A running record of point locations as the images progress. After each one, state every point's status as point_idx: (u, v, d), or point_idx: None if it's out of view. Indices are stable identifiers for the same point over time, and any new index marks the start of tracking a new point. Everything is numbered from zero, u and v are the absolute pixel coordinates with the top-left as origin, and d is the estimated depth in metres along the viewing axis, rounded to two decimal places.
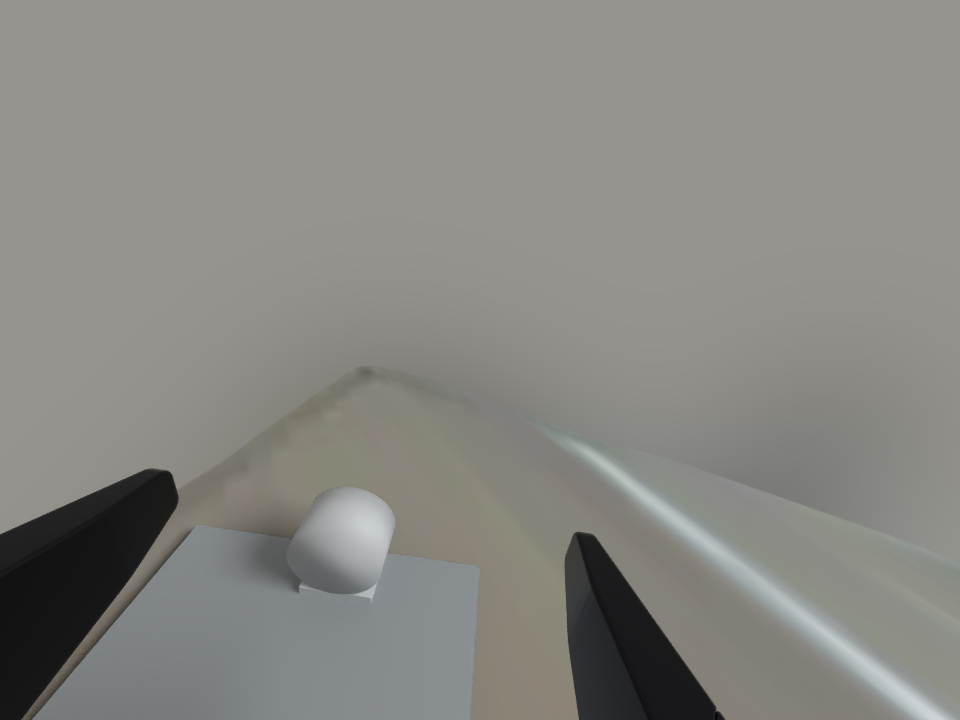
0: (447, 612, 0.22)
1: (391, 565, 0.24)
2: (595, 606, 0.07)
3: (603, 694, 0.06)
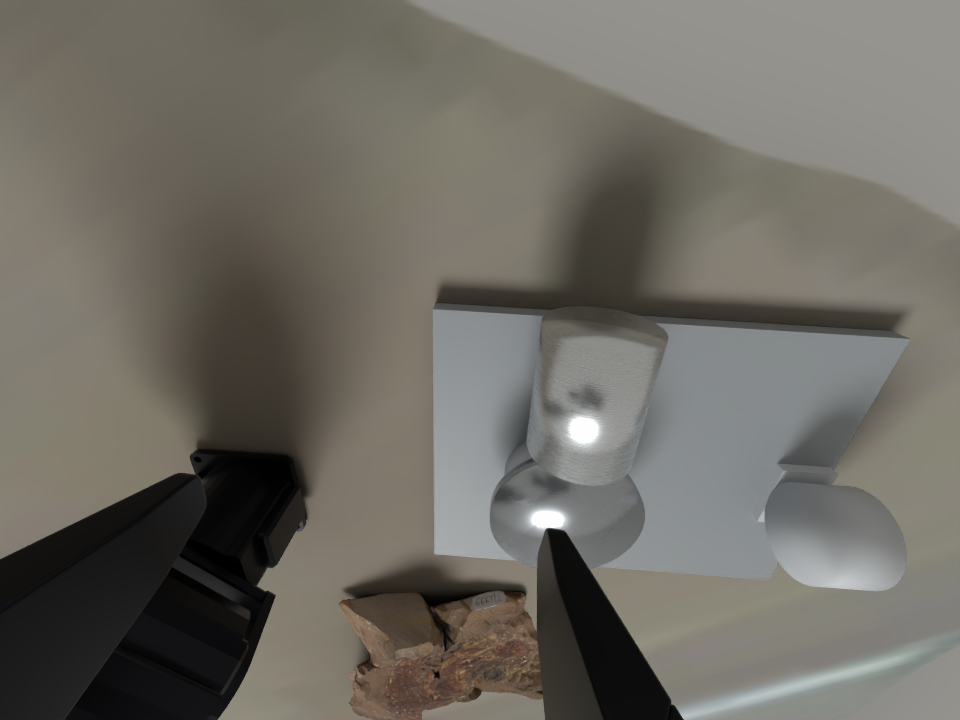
0: (731, 560, 0.26)
1: None
2: (560, 601, 0.07)
3: (564, 688, 0.06)
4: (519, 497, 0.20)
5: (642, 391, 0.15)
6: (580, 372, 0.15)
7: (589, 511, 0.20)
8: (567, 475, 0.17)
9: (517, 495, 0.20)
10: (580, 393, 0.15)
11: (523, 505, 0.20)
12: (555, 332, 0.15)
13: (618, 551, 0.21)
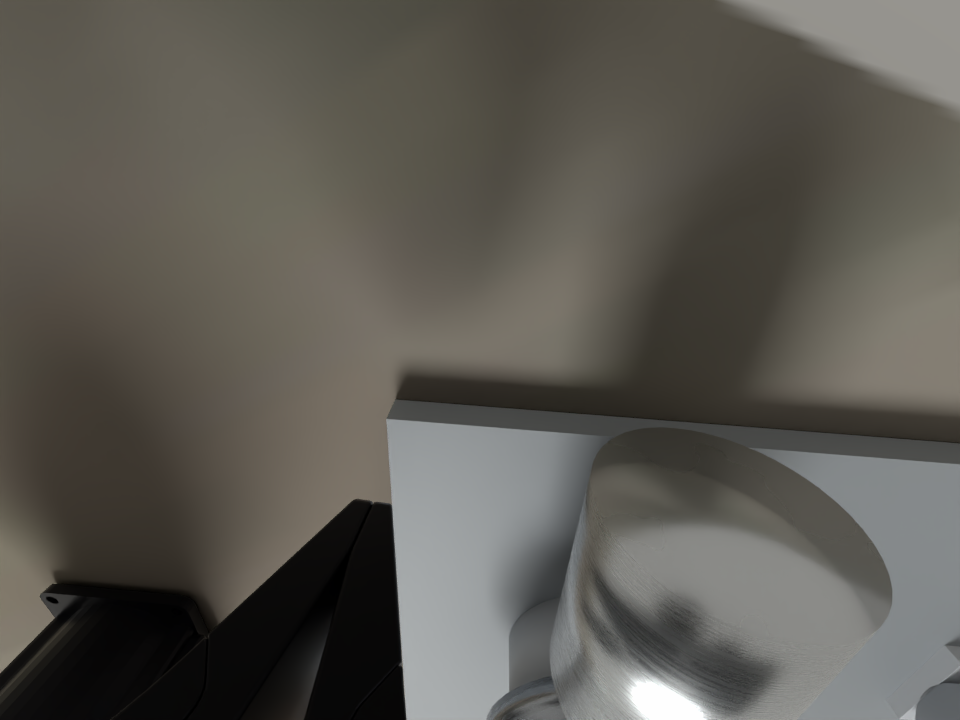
0: None
1: None
2: None
3: None
4: None
5: (828, 684, 0.07)
6: (693, 655, 0.06)
7: None
8: None
9: None
10: (689, 688, 0.07)
11: None
12: (629, 540, 0.07)
13: None
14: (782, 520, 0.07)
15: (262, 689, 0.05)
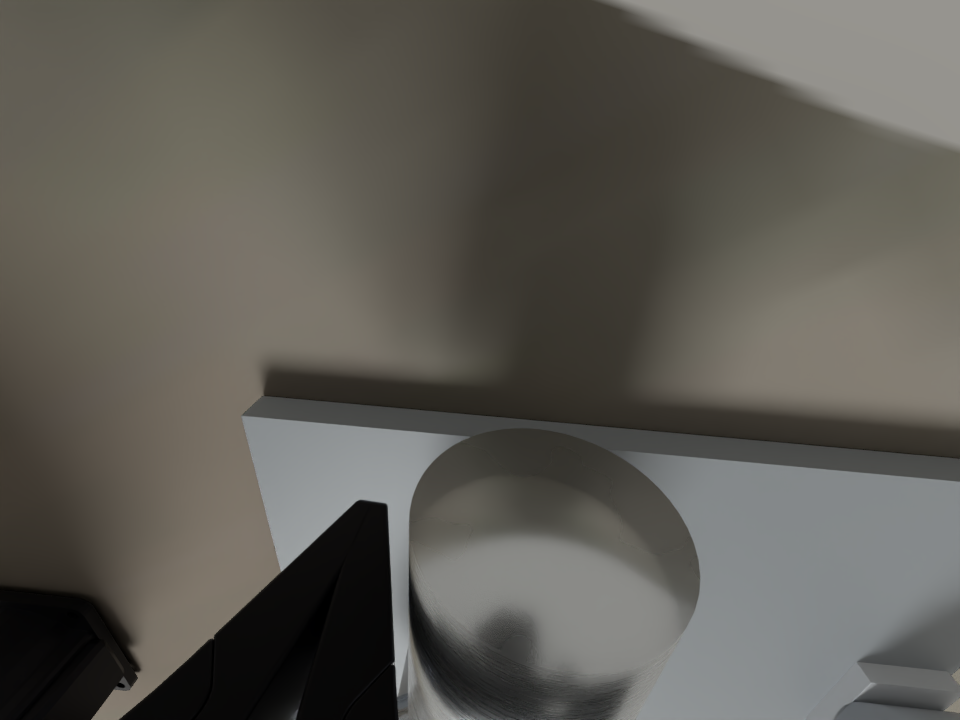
0: None
1: None
2: None
3: None
4: None
5: (631, 714, 0.06)
6: (470, 678, 0.06)
7: None
8: None
9: None
10: (476, 714, 0.06)
11: None
12: (425, 549, 0.06)
13: None
14: (609, 531, 0.07)
15: (269, 690, 0.05)
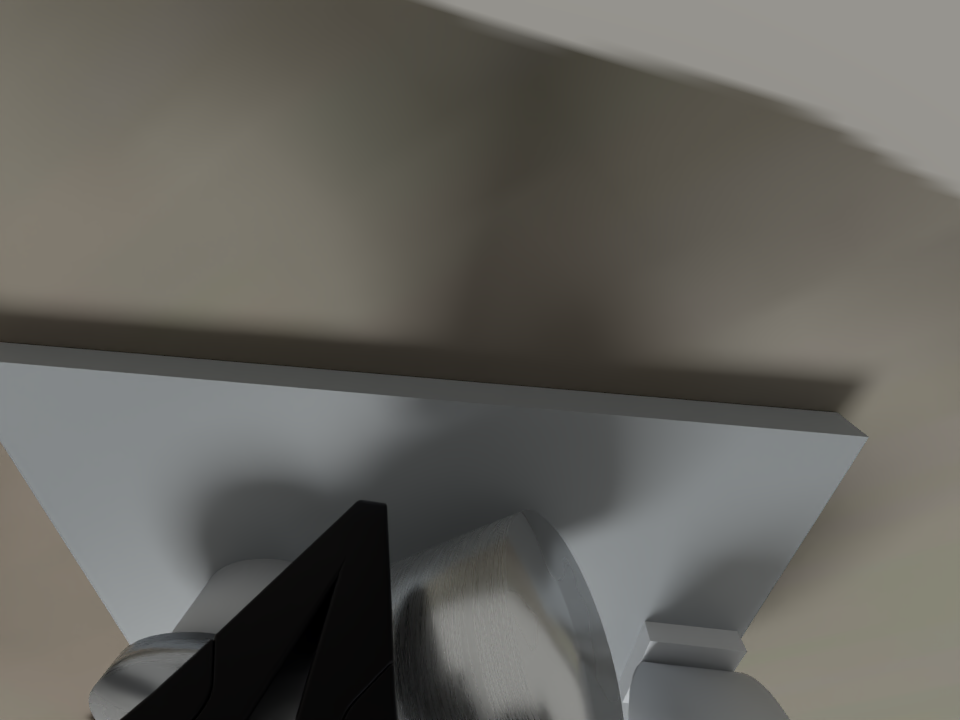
0: None
1: None
2: None
3: None
4: None
5: None
6: None
7: None
8: None
9: None
10: None
11: None
12: (518, 627, 0.07)
13: None
14: (591, 665, 0.09)
15: (269, 690, 0.05)
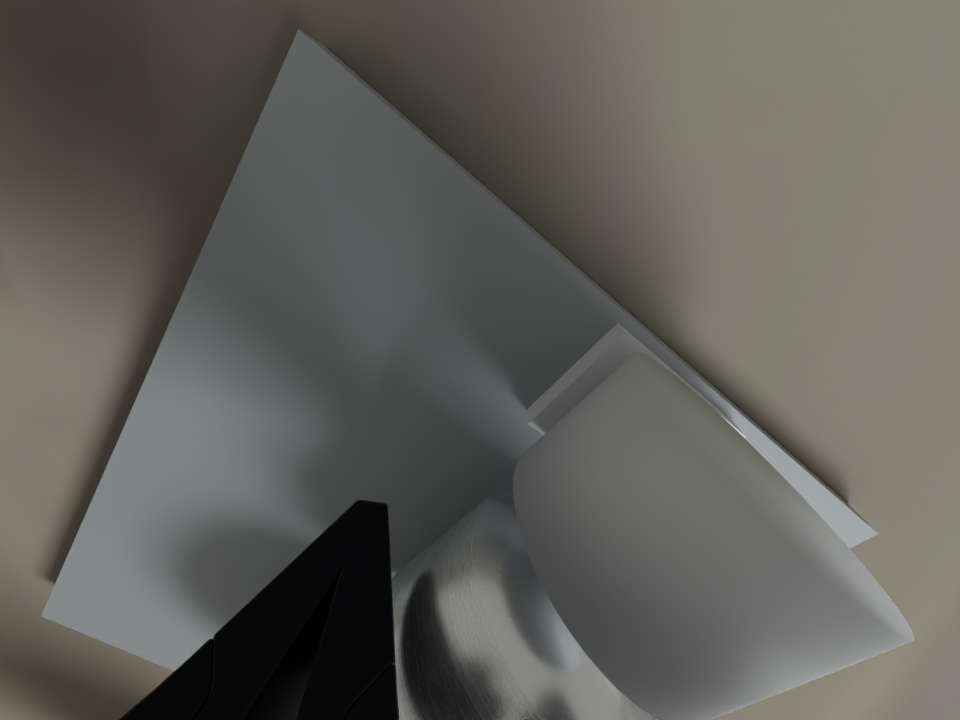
0: None
1: None
2: None
3: None
4: None
5: None
6: None
7: None
8: None
9: None
10: None
11: None
12: (488, 597, 0.07)
13: None
14: None
15: (268, 690, 0.05)
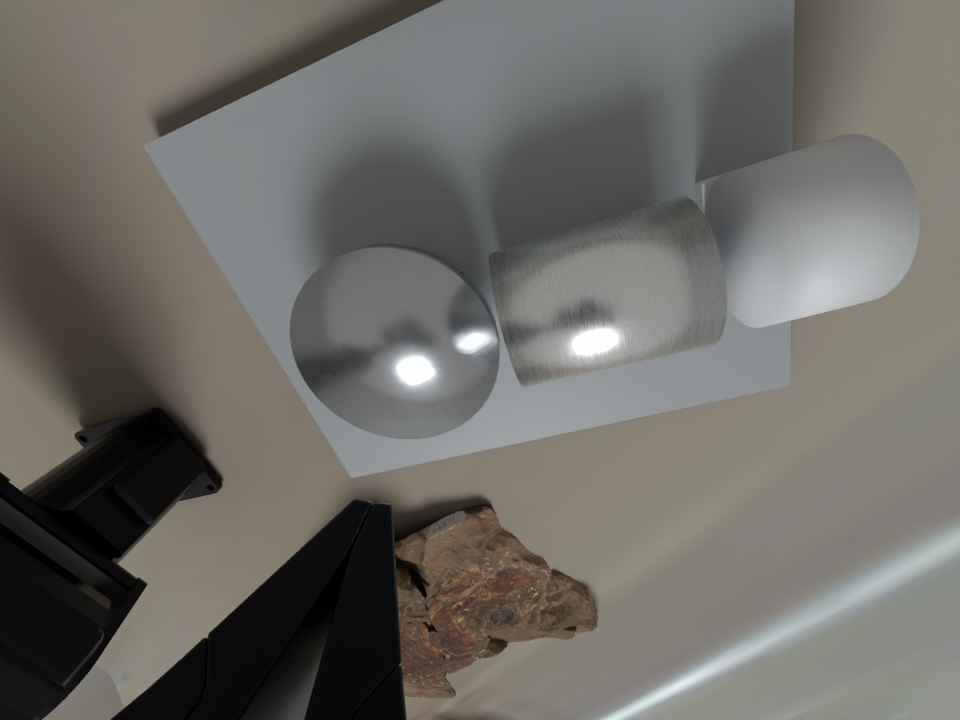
0: (715, 371, 0.18)
1: None
2: None
3: None
4: (403, 280, 0.13)
5: (660, 348, 0.12)
6: (679, 266, 0.11)
7: (425, 374, 0.15)
8: (509, 319, 0.12)
9: (405, 276, 0.13)
10: (648, 280, 0.11)
11: (391, 292, 0.14)
12: (699, 215, 0.11)
13: (380, 429, 0.17)
14: None
15: (262, 689, 0.05)
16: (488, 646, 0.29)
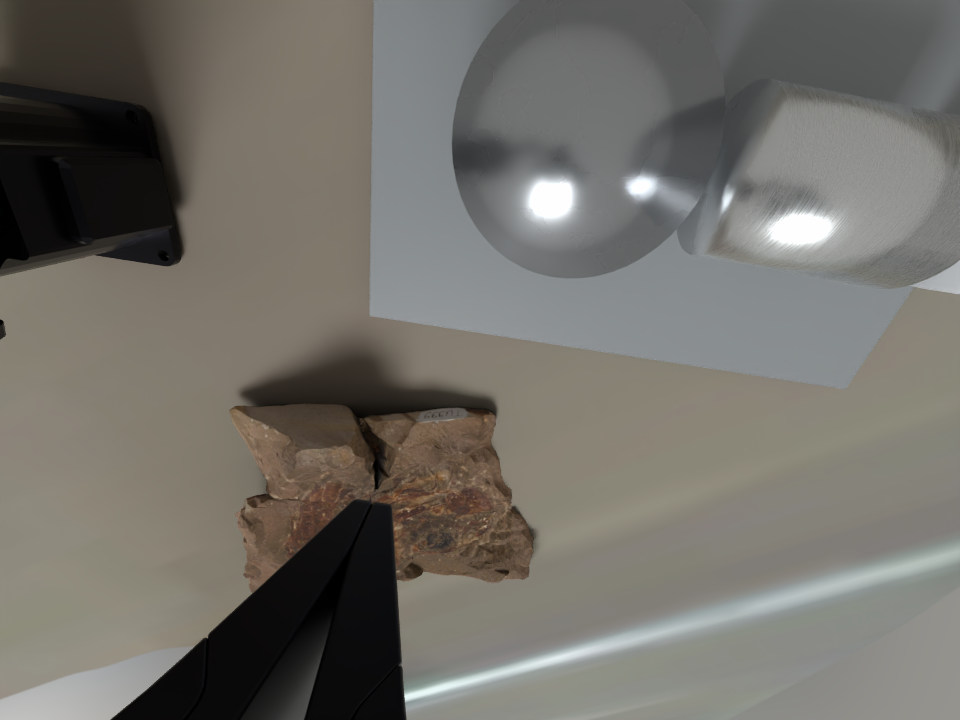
0: (800, 348, 0.18)
1: None
2: None
3: None
4: (664, 50, 0.11)
5: (889, 257, 0.11)
6: None
7: (601, 191, 0.12)
8: (793, 140, 0.10)
9: (670, 47, 0.11)
10: (949, 165, 0.10)
11: (640, 59, 0.11)
12: None
13: (500, 240, 0.13)
14: None
15: (262, 689, 0.05)
16: (404, 568, 0.26)
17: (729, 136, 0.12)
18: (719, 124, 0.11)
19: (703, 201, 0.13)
